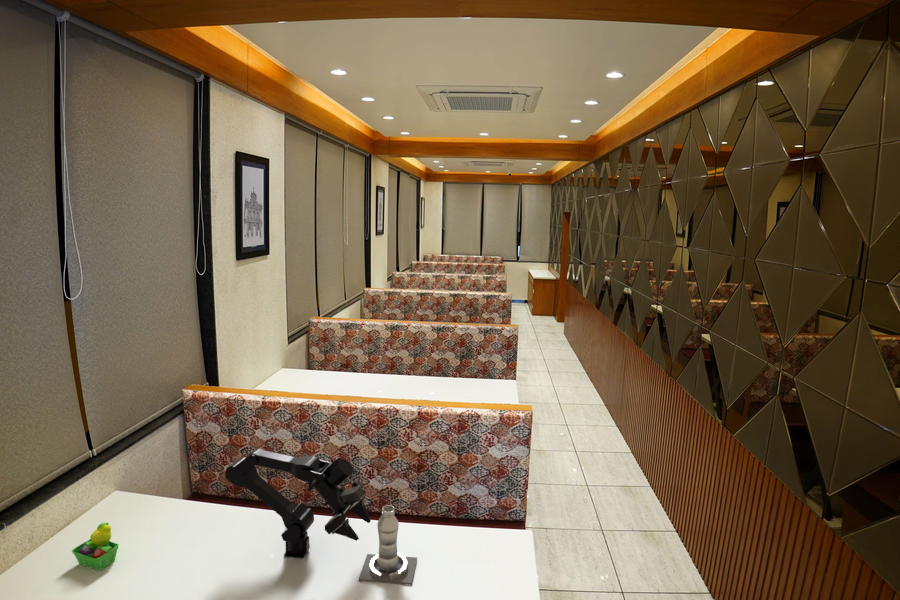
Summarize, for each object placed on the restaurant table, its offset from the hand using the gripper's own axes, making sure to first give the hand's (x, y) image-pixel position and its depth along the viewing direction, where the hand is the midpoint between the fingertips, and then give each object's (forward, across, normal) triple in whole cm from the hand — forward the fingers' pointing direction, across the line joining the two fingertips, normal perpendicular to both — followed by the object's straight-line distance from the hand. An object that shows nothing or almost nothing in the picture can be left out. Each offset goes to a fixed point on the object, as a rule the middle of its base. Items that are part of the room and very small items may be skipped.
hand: (363, 530), depth 164 cm
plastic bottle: (+14, 0, +2) cm, 14 cm away
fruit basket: (-48, -21, +65) cm, 83 cm away
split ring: (+14, 0, +2) cm, 14 cm away
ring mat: (+14, 0, +2) cm, 14 cm away
